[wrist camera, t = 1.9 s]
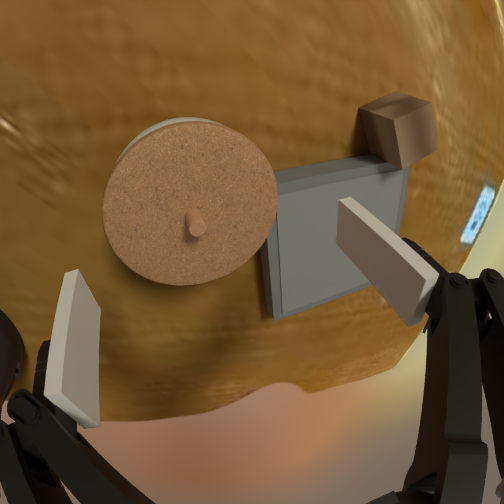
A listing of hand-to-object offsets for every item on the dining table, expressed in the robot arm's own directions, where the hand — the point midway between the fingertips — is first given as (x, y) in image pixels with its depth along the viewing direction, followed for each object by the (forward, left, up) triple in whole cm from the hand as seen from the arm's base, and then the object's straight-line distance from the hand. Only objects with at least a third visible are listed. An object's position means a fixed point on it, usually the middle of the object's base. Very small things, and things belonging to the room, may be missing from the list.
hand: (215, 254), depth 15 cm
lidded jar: (0, 0, -12) cm, 12 cm away
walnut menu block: (+20, +1, -12) cm, 23 cm away
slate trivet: (+14, -10, -12) cm, 21 cm away
